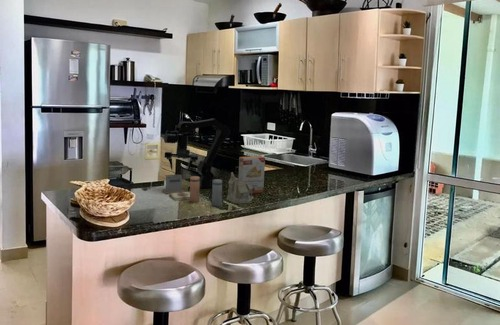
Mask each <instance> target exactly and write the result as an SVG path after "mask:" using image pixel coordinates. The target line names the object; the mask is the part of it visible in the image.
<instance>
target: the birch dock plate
mask: <svg viewBox="0 0 500 325" xmlns="http://www.w3.org/2000/svg"><path fill="white" fill-rule="evenodd" d="M168 197H169V198H171V199H173V201H175V202H177V201H188V200H189V201H190V191H185V192H180V193H169V194H168Z"/></svg>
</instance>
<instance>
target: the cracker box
mask: <svg viewBox="0 0 500 325" xmlns="http://www.w3.org/2000/svg"><path fill="white" fill-rule="evenodd" d="M238 160H239V161H238V177H237V178H238V179H239V182H243V180H245V184H246V183H247V184H251V186H252V195H255V194H264V187H265V186H264V184H265V167H266V166H265V165H266V157H264V156H261V155H258V156H256V155H255V156H239V158H238Z"/></svg>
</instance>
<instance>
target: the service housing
mask: <svg viewBox="0 0 500 325" xmlns="http://www.w3.org/2000/svg"><path fill="white" fill-rule="evenodd" d="M182 180H183V175H181V174H165V189H162V193H164V194H165V195H169V193H180V192H186V191H185V190H184V189H183V181H182Z"/></svg>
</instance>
